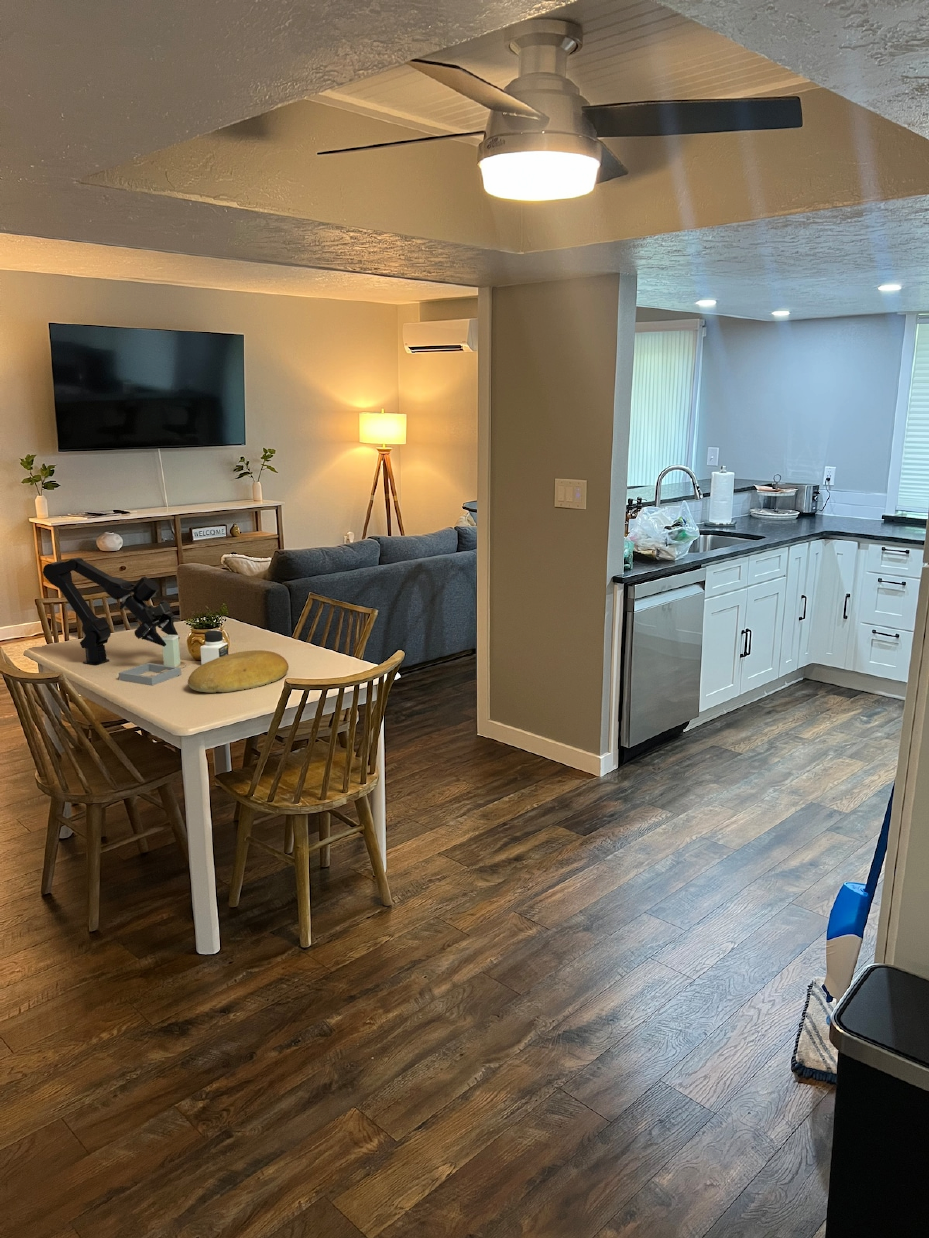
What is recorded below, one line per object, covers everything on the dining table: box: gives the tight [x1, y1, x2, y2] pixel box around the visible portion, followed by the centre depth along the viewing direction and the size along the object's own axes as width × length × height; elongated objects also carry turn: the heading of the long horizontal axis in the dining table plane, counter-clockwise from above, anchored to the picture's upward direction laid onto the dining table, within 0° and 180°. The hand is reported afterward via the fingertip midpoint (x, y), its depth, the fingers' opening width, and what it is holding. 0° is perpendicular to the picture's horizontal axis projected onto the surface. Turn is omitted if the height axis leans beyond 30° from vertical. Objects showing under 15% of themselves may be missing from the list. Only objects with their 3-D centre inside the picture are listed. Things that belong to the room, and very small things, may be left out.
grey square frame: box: [118, 662, 182, 686], centre depth 306 cm, size 14×13×2 cm
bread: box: [187, 649, 289, 694], centre depth 299 cm, size 18×35×10 cm, turn 138°
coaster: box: [159, 661, 187, 669], centre depth 319 cm, size 10×10×1 cm
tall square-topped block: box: [160, 634, 181, 667], centre depth 318 cm, size 4×4×10 cm
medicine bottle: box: [200, 629, 230, 665], centre depth 321 cm, size 7×7×12 cm
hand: (172, 642), depth 317 cm, fingers open, 9 cm apart
